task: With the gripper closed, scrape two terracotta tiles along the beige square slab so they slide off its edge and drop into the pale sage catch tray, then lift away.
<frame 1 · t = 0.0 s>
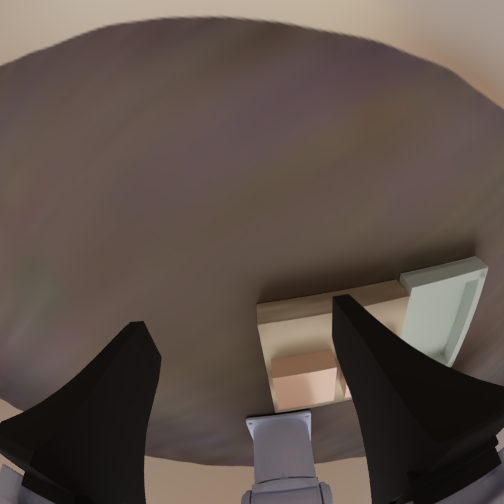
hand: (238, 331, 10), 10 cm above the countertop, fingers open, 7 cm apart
tray: (428, 322, 24), on the countertop
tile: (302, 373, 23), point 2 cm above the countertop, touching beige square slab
beige square slab: (329, 347, 25), on the countertop
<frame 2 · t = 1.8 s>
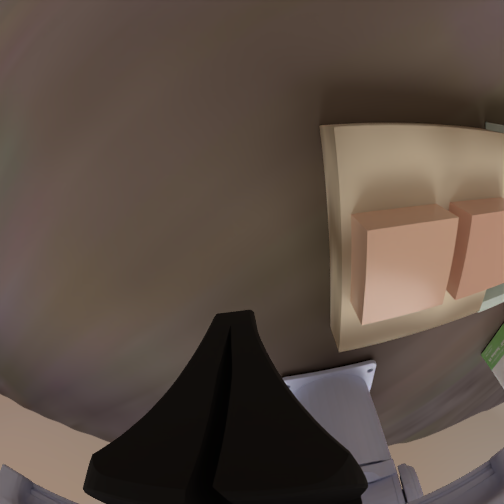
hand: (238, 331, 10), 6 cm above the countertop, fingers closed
ink box: (503, 339, 22), on the countertop
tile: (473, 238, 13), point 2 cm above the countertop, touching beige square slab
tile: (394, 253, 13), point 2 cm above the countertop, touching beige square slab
beige square slab: (417, 228, 15), on the countertop
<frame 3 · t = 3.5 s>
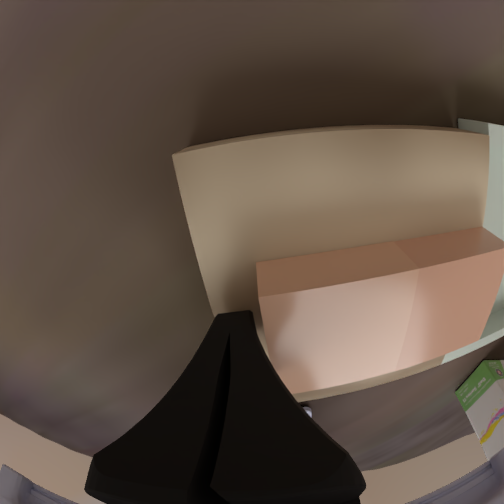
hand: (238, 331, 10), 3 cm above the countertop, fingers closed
ink box: (484, 374, 20), on the countertop
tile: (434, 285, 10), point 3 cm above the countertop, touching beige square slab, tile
tray: (499, 239, 12), on the countertop
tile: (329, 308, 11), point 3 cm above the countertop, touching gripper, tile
beige square slab: (347, 269, 13), on the countertop
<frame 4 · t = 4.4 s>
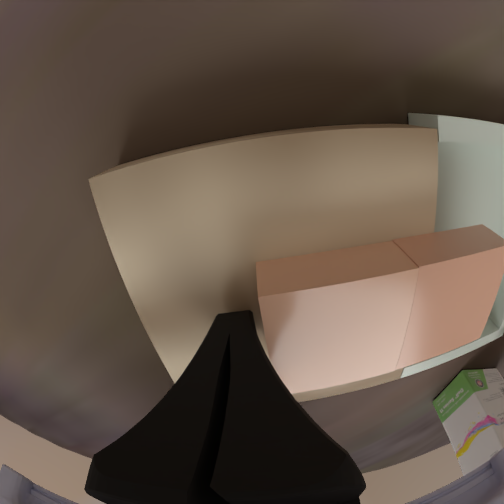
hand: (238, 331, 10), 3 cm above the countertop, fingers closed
ink box: (466, 383, 20), on the countertop
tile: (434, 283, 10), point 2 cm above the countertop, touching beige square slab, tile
tray: (469, 245, 12), on the countertop
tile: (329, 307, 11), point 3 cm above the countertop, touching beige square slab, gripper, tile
beige square slab: (283, 279, 13), on the countertop
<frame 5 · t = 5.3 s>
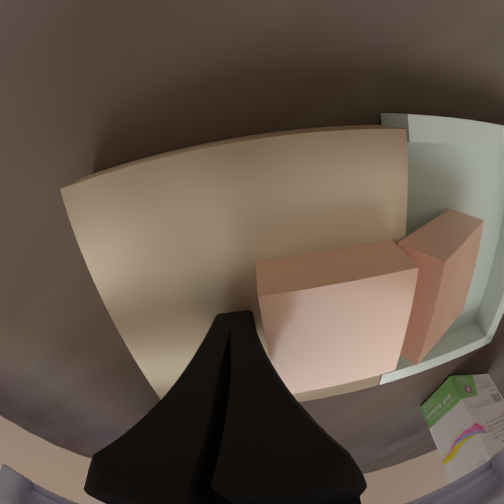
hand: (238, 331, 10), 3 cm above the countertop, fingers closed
ink box: (455, 388, 20), on the countertop
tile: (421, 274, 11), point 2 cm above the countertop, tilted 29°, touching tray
tray: (452, 249, 12), on the countertop
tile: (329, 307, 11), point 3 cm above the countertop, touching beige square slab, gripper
beige square slab: (252, 284, 13), on the countertop
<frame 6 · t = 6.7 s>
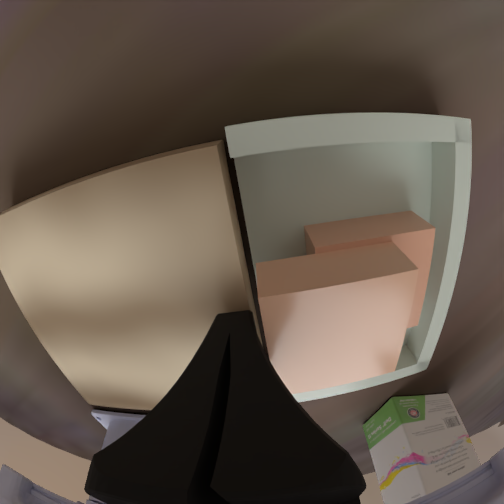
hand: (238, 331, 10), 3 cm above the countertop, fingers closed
ink box: (407, 407, 20), on the countertop
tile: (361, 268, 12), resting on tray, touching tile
tray: (355, 267, 13), on the countertop
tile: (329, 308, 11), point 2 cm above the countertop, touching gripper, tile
beige square slab: (133, 299, 13), on the countertop
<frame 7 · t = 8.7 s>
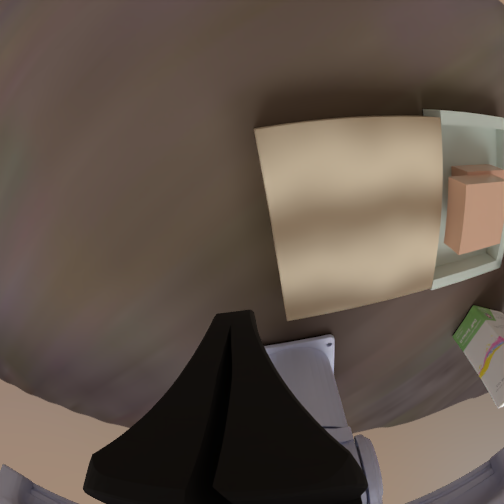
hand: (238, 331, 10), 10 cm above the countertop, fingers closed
ink box: (477, 322, 25), on the countertop
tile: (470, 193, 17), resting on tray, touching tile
tray: (466, 194, 18), on the countertop
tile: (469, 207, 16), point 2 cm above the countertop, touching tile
beige square slab: (354, 210, 19), on the countertop
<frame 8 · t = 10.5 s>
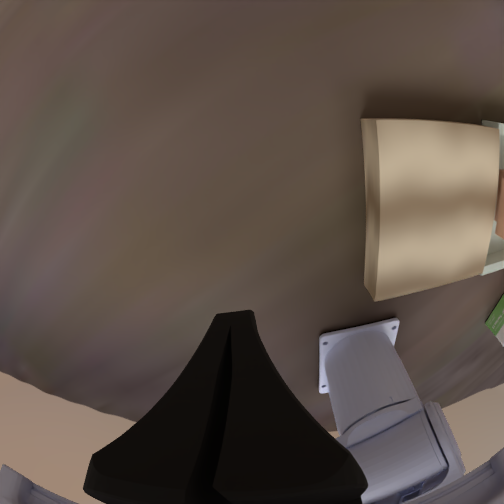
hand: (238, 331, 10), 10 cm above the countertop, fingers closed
beige square slab: (430, 201, 19), on the countertop
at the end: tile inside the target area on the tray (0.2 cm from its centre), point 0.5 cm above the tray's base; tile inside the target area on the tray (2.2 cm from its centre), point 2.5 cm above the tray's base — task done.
